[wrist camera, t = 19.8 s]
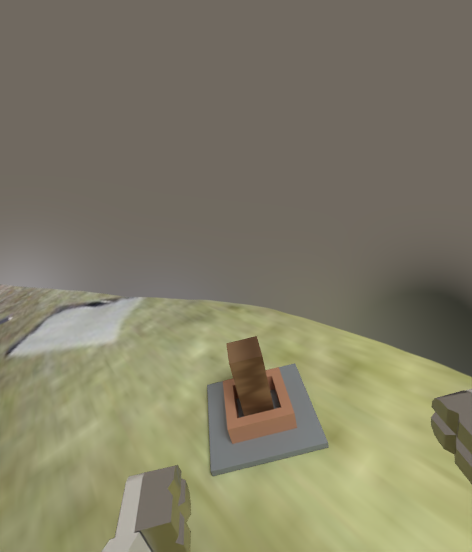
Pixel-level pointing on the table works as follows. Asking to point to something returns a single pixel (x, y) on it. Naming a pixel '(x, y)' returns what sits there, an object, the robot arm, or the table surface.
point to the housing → (262, 424)
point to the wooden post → (250, 376)
